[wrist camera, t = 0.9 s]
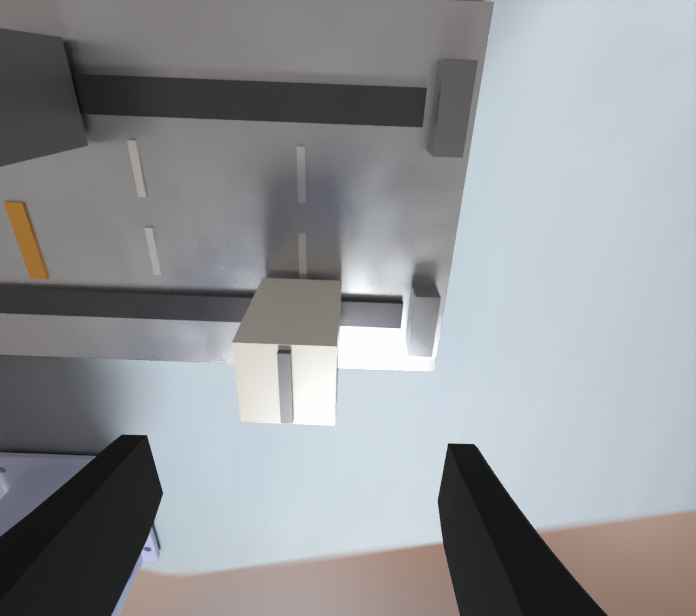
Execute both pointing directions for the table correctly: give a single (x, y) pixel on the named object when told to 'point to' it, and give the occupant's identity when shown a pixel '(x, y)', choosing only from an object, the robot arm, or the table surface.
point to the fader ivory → (289, 352)
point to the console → (243, 174)
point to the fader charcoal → (36, 98)
